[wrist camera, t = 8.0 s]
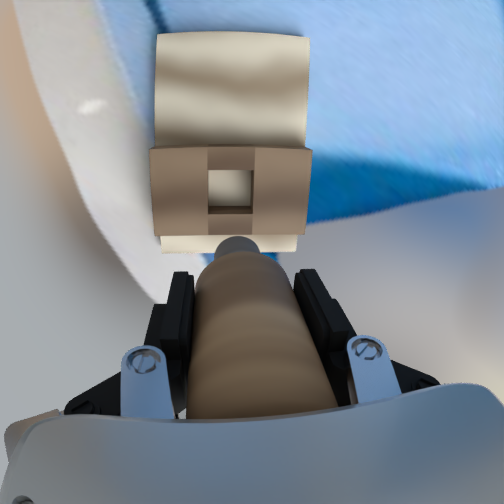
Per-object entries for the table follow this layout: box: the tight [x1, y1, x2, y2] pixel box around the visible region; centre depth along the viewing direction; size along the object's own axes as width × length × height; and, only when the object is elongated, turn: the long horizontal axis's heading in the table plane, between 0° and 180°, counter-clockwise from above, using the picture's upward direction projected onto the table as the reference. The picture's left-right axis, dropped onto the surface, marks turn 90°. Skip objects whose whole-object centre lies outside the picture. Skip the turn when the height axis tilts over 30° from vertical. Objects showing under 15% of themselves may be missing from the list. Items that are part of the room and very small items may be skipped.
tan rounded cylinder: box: [186, 236, 339, 419], centre depth 11 cm, size 4×4×10 cm
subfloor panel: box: [149, 31, 312, 253], centre depth 26 cm, size 22×14×4 cm, turn 178°
